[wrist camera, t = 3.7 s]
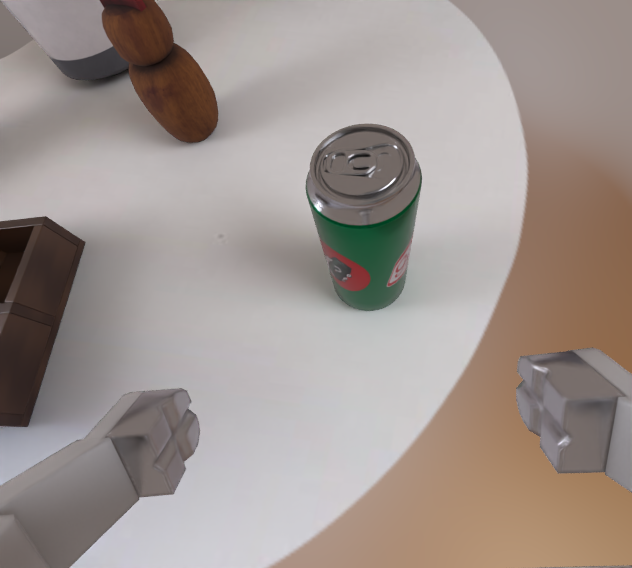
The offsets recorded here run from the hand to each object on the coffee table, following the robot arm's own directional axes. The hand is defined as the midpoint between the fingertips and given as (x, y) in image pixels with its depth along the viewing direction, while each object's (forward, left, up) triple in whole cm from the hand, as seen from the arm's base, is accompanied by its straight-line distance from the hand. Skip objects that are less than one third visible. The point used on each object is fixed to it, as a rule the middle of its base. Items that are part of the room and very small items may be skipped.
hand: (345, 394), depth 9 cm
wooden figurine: (+27, +15, -14) cm, 34 cm away
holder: (+7, +28, -14) cm, 32 cm away
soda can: (+9, -1, -14) cm, 17 cm away
